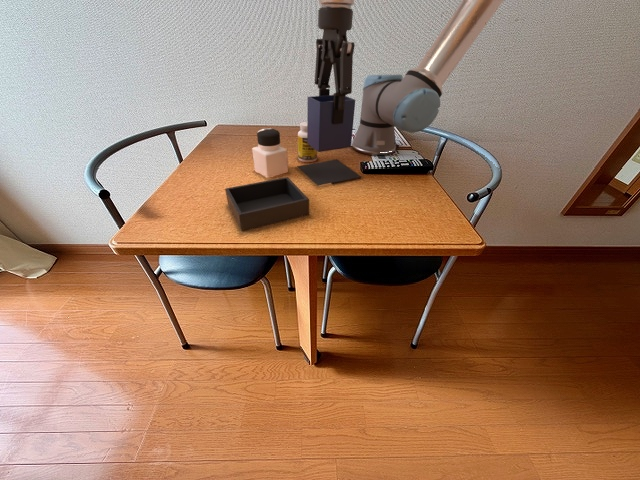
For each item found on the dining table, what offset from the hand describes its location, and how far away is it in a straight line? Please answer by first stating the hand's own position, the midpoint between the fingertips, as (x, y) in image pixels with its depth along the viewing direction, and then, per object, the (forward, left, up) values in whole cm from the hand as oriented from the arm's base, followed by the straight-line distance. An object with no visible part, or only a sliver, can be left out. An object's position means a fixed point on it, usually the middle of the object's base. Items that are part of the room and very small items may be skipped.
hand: (330, 119), depth 75 cm
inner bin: (0, 0, -7) cm, 7 cm away
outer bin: (+23, +13, -15) cm, 30 cm away
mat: (0, 0, -15) cm, 15 cm away
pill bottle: (+1, -12, -15) cm, 19 cm away
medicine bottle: (+15, -7, -15) cm, 23 cm away
